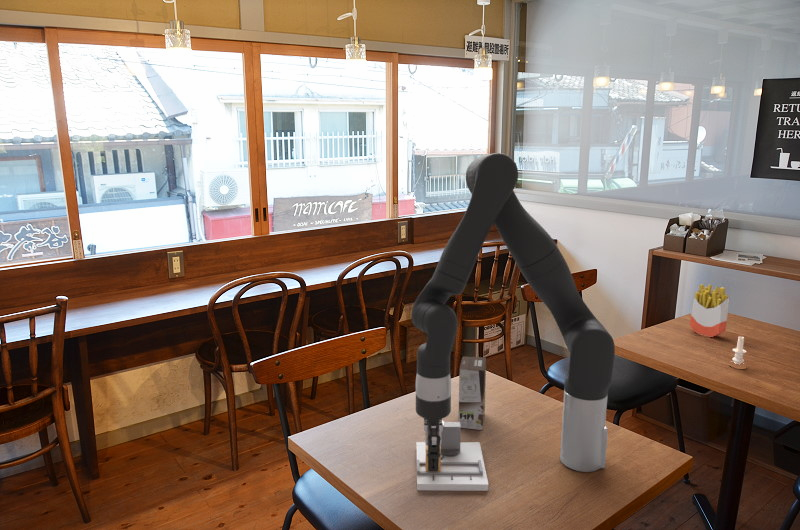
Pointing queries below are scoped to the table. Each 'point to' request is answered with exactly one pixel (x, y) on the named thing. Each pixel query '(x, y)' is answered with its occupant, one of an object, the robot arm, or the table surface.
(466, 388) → the coffee box
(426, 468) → the fader
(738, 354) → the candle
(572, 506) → the table surface
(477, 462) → the board
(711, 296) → the french fries container
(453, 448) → the selector knob
